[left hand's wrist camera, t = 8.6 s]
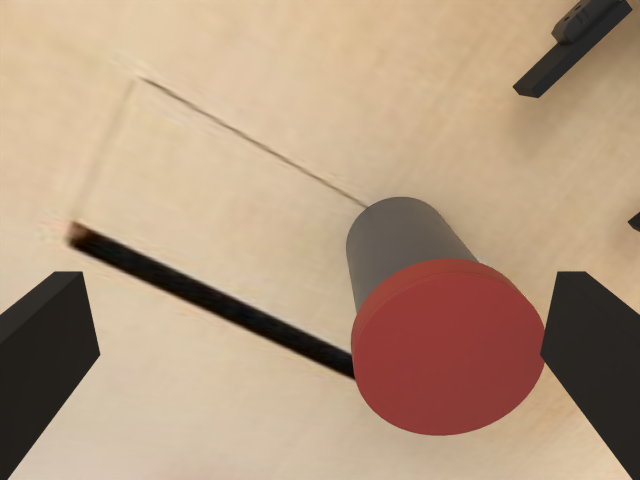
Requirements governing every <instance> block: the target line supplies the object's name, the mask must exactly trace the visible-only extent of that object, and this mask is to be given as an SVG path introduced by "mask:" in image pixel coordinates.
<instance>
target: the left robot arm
mask: <svg viewBox="0 0 640 480" xmlns="http://www.w3.org/2000/svg"><path fill="white" fill-rule="evenodd" d="M99 356H100V351H99V346H98V342H97V337H96V332H95V328H94V323H93V318H92V314H91V309H90V304H89V300H88V295H87V290H86V286H85V281H84V276H83V272H53V273H52V274H51V275H50V276H48V277H47V278H46V279H45V280H43V281H42V282H41V283H40V284H38V285H37V286H36V287H35V288H33V289H32V290H31V291H30V292H28V293H27V294H26V295H25V296H23V297H22V298H21V299H20V300H18V301H17V302H16V303H15V304H13V305H12V306H11V307H10V308H8V309H7V310H6V311H5V312H3V313H2V314H1V315H0V480H8V478H9V477H10V476H11V474H12V473H13V471H14V470H15V469H16V467H17V466H18V465H19V463H20V462H21V461H22V459H23V458H24V457H25V455H26V454H27V453H28V451H29V450H30V449H31V447H32V446H33V445H34V443H35V442H36V441H37V439H38V438H39V437H40V435H41V434H42V433H43V431H44V430H45V429H46V427H47V426H48V424H49V423H50V422H51V420H52V419H53V418H54V416H55V415H56V414H57V412H58V411H59V410H60V408H61V407H62V406H63V404H64V403H65V402H66V400H67V399H68V398H69V396H70V395H71V394H72V392H73V391H74V390H75V388H76V387H77V386H78V384H79V383H80V382H81V380H82V379H83V377H84V376H85V375H86V373H87V372H88V371H89V369H90V368H91V367H92V365H93V364H94V363H95V361H96V360H97V359H98V357H99ZM540 356H541V357H542V359H543V360H544V361H545V363H546V364H547V365H548V367H549V368H550V369H551V371H552V372H553V373H554V375H555V376H556V377H557V379H558V380H559V382H560V383H561V384H562V386H563V387H564V388H565V390H566V391H567V392H568V394H569V395H570V396H571V398H572V399H573V400H574V402H575V403H576V404H577V406H578V407H579V408H580V410H581V411H582V412H583V414H584V415H585V416H586V418H587V419H588V420H589V422H590V423H591V424H592V426H593V427H594V429H595V430H596V431H597V433H598V434H599V435H600V437H601V438H602V439H603V441H604V442H605V443H606V445H607V446H608V447H609V449H610V450H611V451H612V453H613V454H614V455H615V457H616V458H617V459H618V461H619V462H620V463H621V465H622V466H623V467H624V469H625V470H626V471H627V473H628V474H629V476H630V477H631V478H632V480H640V315H639V314H638V313H637V312H635V311H634V310H633V309H632V308H630V307H629V306H628V305H627V304H625V303H624V302H623V301H622V300H620V299H619V298H618V297H617V296H615V295H614V294H613V293H612V292H610V291H609V290H608V289H607V288H605V287H604V286H603V285H602V284H600V283H599V282H598V281H597V280H595V279H594V278H593V277H592V276H590V275H589V274H588V273H587V272H557V276H556V281H555V286H554V290H553V295H552V300H551V304H550V309H549V314H548V318H547V323H546V328H545V332H544V337H543V342H542V346H541V351H540Z"/></svg>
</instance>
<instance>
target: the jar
mask: <svg viewBox="0 0 640 480" xmlns="http://www.w3.org/2000/svg"><path fill="white" fill-rule="evenodd" d="M346 253H347V260H348V266H349V271H350V277H351V283H352V289H353V295H354V300H355V306H356V312H357V313H358V312H359V310H360V308H361V306H362V304H363V303H364V301H365V300H366V299H367V297H368V296H369V295H370V294H371V293H372V291H373V290H374V289H375V288H376V287H377V286H378V285H380V284H381V283H382V282H383V281H384V280H386V279H387V278H389V277H390V276H392V275H393V274H395V273H396V272H398V271H400V270H402V269H404V268H407V267H409V266H412V265H414V264H417V263H420V262H425V261H429V260H435V259H445V258H450V259H464V260H471V261H474V262H478V260H477V259H476V258H475V257H474V256H473V254H472V253H471V252H470V251H469V249H468V248H467V247H466V246H465V245H464V243H463V242H462V241H461V240H460V239H459V237H458V236H457V235H456V234H455V233H454V231H453V230H452V229H451V228H450V226H449V225H448V224H447V223H446V222H445V220H444V219H443V218H442V217H441V216H440V214H439V213H438V212H437V211H436V210H435V209H434V208H432V207H431V206H430V205H428V204H426V203H425V202H422V201H420V200H417V199H414V198H408V197H395V198H389V199H385V200H382V201H379V202H377V203H375V204H373V205H371V206H370V207H368V208H367V209H366V210H365V211H363V212H362V213H361V214H360V215H359V216H358V218H357V219H356V220H355V222H354V223H353V225H352V227H351V229H350V231H349V234H348V237H347V242H346ZM478 263H479V262H478Z"/></svg>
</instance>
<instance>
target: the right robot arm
mask: <svg viewBox="0 0 640 480" xmlns="http://www.w3.org/2000/svg"><path fill="white" fill-rule="evenodd" d="M631 11H632V8H631V7H630V6H629V4H628V3H627V1H626V0H580V1H579V2H578V3H577V4H576V5H575V6H574V7H573V8H572V9H571V10H570V12H568V13H567V14H566V15H565V16H564V17H563V18H562V19H561V20H560V21H559V22H558V23H557V24H556V25H555V27H554V29H553V31H552V33H551V34H552V35H553V36H554V38H555V39H556V40H557V41H558V43H557V44H556V45H555V46H554V47H553V48H552V49H551V50H550V51H549V52H548V53H547V54H546V55H545V56H544V57H543V58H542V59H541V60H540V61H538V62H537V63H536V64H535V65H534V66H533V67H532V68H531V69H530V70H529V71H528V72H527V73H526V74H525V75H524V76H523V77H522V78H521V79H520V80H519V81H518V82H517V83H516V84H515V85H514V86H513V88H514V89H515V90H516V91H517V93H518V94H519V95H523V96H529V97H535V98H539V97H540V96H541V95H542V94H543V93H545V92H546V91H547V90H548V89H549V88H550V87H551V86H552V85H553V84H554V83H555V82H556V81H557V80H558V79H559V78H561V77H562V76H563V75H564V74H565V73H566V72H567V71H568V70H569V69H570V68H571V67H572V66H573V65H574V64H575V63H577V62H578V61H579V60H580V59H581V58H582V57H583V56H584V55H585V54H586V53H587V52H588V51H589V50H590V49H591V48H593V47H594V46H595V45H596V44H597V43H598V42H599V41H600V40H601V39H602V38H603V37H604V36H605V35H606V34H607V33H609V32H610V31H611V30H612V29H613V28H614V27H615V26H616V25H617V24H618V23H619V22H620V21H621V20H622V19H623V18H625V17H626V16H627V15H628V14H629V13H630V12H631ZM628 223H629V224H630V225H631V226H632V228H633V229H635V230H637V231H639V232H640V212H639V213H638V214H636V215H635V216H634V217H633V218H632V219H630V220H629V221H628Z"/></svg>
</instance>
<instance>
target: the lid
mask: <svg viewBox="0 0 640 480" xmlns="http://www.w3.org/2000/svg"><path fill="white" fill-rule="evenodd" d="M544 332H545V330H544V326H543V323H542V321H541V318H540V316H539V315H538V313H537V311H536V310H535V308H534V307H533V306H532V304H531V303H530V302H529V301H528V300H527V299H526V298H525V297H524V295H523V294H522V293H521V292H520V291H519V290H518V289H517V288H516V287H515V285H514V284H513V283H512V282H511V281H510V280H509V279H508V278H506V277H505V276H504V275H503V274H501V273H500V272H498V271H496V270H495V269H493V268H491V267H489V266H486V265H484V264H481V263H478V262H474V261H471V260H464V259H450V258H445V259H435V260H429V261H425V262H420V263H417V264H414V265H412V266H409V267H407V268H404V269H402V270H400V271H398V272H396V273H395V274H393V275H392V276H390V277H389V278H387V279H386V280H384V281H383V282H382V283H381V284H380V285H378V286H377V287H376V288H375V289H374V290H373V291H372V293H371V294H370V295H369V296H368V297H367V299H366V300H365V301H364V303H363V304H362V306H361V308H360V310H359V312H358V313H357V316H356V319H355V321H354V324H353V329H352V333H351V351H352V360H353V367H354V375H355V379H356V383H357V386H358V388H359V391H360V393H361V395H362V397H363V398H364V400H365V401H366V403H367V404H368V405H369V406H370V407H371V409H372V410H373V411H374V412H375V413H376V414H378V415H379V416H380V417H381V418H383V419H384V420H386V421H387V422H389V423H390V424H392V425H394V426H396V427H398V428H401V429H404V430H407V431H410V432H414V433H418V434H424V435H439V436H444V435H455V434H461V433H466V432H470V431H473V430H477V429H480V428H482V427H484V426H487V425H489V424H491V423H493V422H495V421H497V420H499V419H501V418H502V417H504V416H505V415H507V414H508V413H510V412H511V411H512V410H513V409H515V408H516V407H517V406H518V405H519V404H520V403H521V402H522V401H523V400H524V399H525V398H526V397H527V396H528V394H529V393H530V392H531V390H532V389H533V388H534V386H535V384H536V383H537V381H538V379H539V377H540V375H541V372H542V370H543V367H544V363H545V361H544V360H543V359H542V357H541V356H540V351H541V346H542V342H543V337H544Z"/></svg>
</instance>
